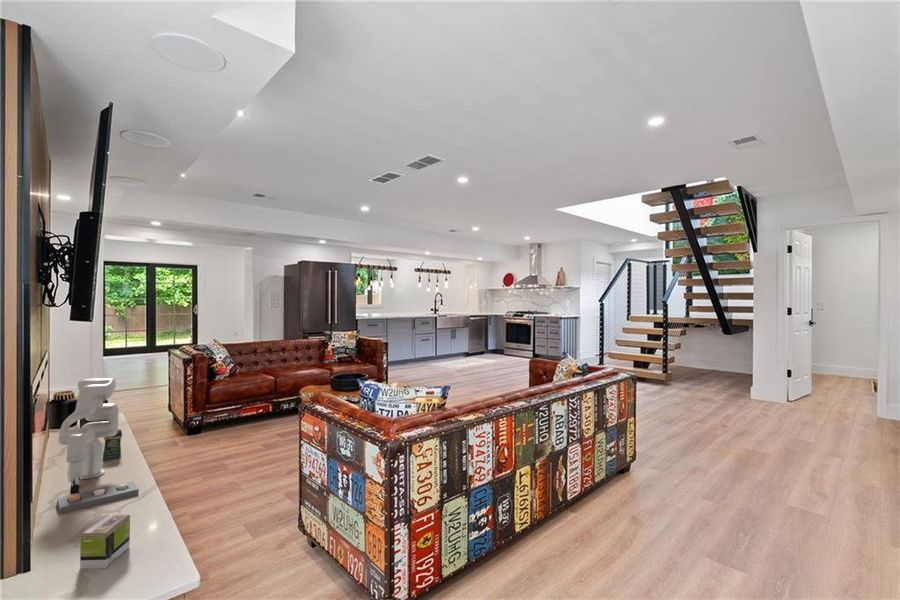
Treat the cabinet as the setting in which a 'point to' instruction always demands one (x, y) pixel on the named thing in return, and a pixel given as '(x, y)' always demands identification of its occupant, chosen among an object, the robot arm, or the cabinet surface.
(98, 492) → the cream button
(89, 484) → the cabinet surface
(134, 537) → the cabinet surface
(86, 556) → the tea box
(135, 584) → the cabinet surface
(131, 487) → the button panel
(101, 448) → the robot arm
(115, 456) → the green snack bag
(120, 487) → the sage button
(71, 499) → the terracotta button
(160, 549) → the cabinet surface
